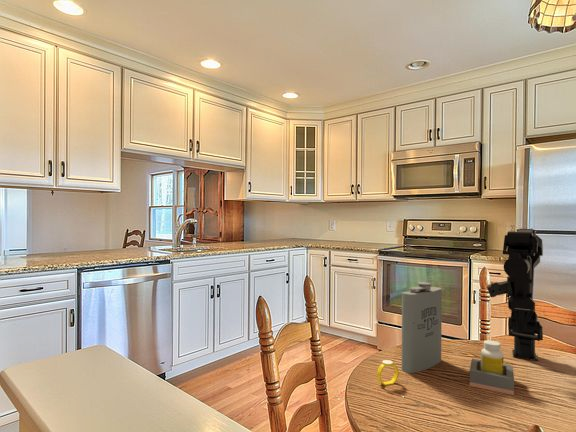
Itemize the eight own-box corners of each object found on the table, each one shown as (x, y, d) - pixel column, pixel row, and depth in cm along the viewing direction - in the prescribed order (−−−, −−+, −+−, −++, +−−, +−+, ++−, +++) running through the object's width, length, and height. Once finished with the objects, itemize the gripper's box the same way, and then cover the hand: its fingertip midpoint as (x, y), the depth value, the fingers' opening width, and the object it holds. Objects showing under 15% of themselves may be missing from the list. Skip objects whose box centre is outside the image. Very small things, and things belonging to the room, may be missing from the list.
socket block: (471, 372, 105) (471, 358, 105) (512, 380, 100) (512, 365, 100) (469, 385, 96) (469, 370, 97) (514, 395, 92) (514, 379, 92)
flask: (413, 375, 103) (413, 286, 103) (399, 369, 106) (399, 284, 107) (445, 361, 113) (446, 280, 114) (432, 356, 117) (432, 278, 117)
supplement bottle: (507, 384, 95) (507, 346, 95) (484, 382, 96) (485, 345, 96) (498, 375, 101) (498, 339, 101) (477, 373, 102) (477, 338, 102)
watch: (381, 388, 95) (380, 366, 95) (375, 384, 98) (374, 362, 98) (400, 383, 97) (399, 361, 97) (394, 379, 100) (393, 357, 100)
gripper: (489, 268, 119) (488, 316, 119) (487, 275, 103) (487, 331, 103) (529, 271, 114) (529, 321, 114) (535, 279, 98) (535, 337, 97)
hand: (519, 327), depth 107 cm, fingers open, 9 cm apart
